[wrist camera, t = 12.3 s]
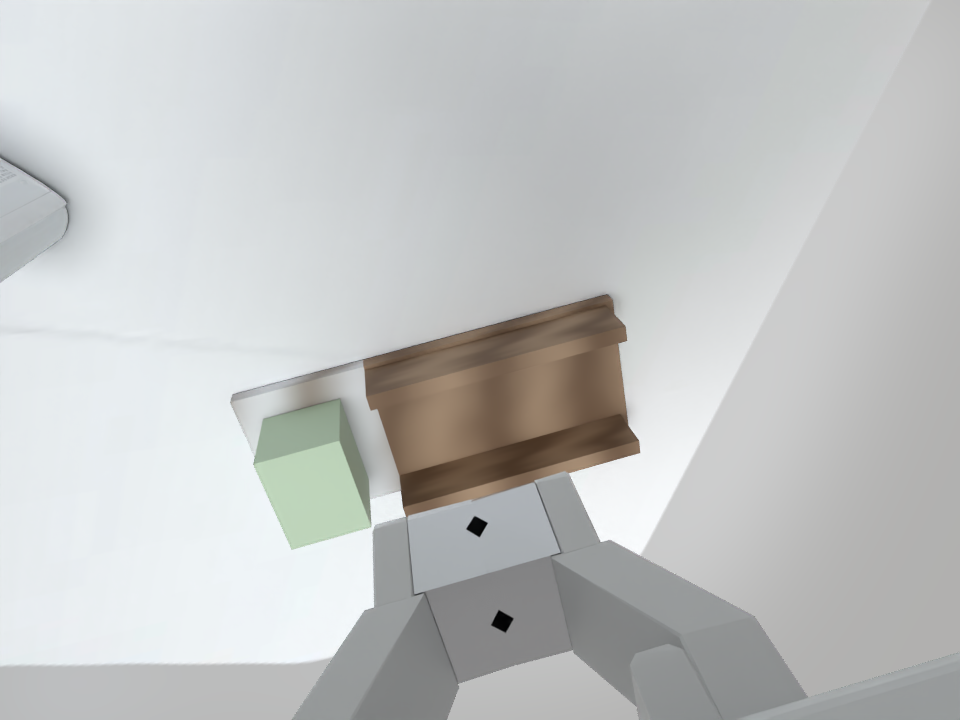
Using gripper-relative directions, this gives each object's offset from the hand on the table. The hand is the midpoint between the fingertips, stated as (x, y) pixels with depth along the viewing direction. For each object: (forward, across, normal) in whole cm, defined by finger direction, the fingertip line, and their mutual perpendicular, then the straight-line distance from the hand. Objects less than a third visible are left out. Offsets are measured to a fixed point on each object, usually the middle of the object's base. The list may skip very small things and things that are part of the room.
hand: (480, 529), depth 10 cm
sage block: (+30, +10, +17) cm, 36 cm away
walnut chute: (+32, +1, +17) cm, 36 cm away
